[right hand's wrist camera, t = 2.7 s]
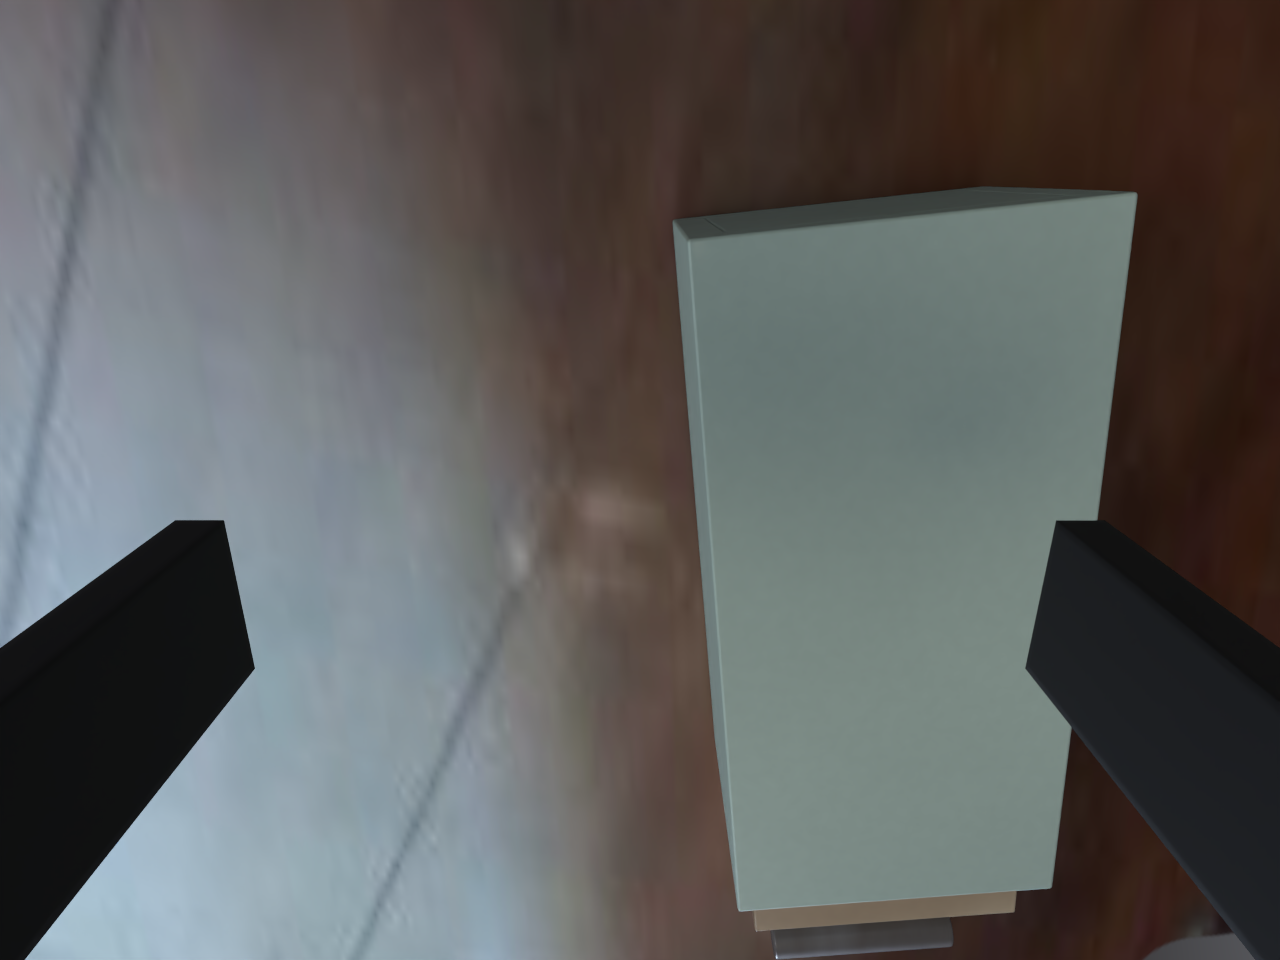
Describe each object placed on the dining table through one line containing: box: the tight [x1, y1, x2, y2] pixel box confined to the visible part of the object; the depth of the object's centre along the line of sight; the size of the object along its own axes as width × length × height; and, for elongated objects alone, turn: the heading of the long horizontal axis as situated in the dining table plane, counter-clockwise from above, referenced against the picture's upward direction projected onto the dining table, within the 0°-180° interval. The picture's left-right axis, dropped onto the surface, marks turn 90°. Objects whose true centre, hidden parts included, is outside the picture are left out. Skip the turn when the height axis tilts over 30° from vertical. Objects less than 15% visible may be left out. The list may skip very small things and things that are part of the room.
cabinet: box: [673, 187, 1137, 911], centre depth 25 cm, size 21×10×8 cm, turn 6°
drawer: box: [752, 891, 1017, 959], centre depth 27 cm, size 25×9×6 cm, turn 6°
